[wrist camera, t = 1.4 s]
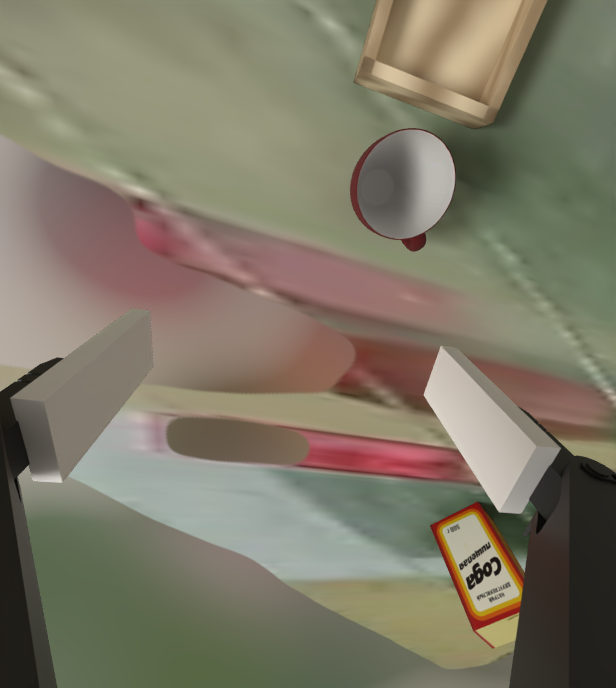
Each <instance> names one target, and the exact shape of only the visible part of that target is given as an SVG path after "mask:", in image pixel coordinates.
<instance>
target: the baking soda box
mask: <svg viewBox="0 0 616 688" xmlns="http://www.w3.org/2000/svg"><path fill="white" fill-rule="evenodd" d="M430 527H431V529H432V532H433V534H434V537H435V539H436V541H437V544H438V546H439V549H440V551H441V554H442V556H443V558H444V561H445V563H446V566H447V568H448V571H449V573H450V575H451V578H452V580H453V583H454V585H455V588H456V590H457V592H458V595H459V597H460V600H461V602H462V605H463V607H464V609H465V612H466V614H467V617H468V619H469V622H470V624H471V626H472V629H473V631H474V632H475V633H476V634H477V635H478V636H479V637H480V638H481V639H483V640H484V641H485V642H486V643H487V644H488V645H489V646H490V647H491V648H492V649H493V648H496V647H499V646H501V645H504V644H506V643H509V642H512V641H514V640H516V634H517V627H518V619H519V612H520V605H521V597H522V590H523V582H524V575H525V573H524V571H523V569H522V568H521V566H520V564H519V563H518V561H517V559H516V558H515V556H514V554H513V553H512V551H511V550H510V548H509V546H508V545H507V543H506V541H505V540H504V538H503V536H502V535H501V533H500V531H499V530H498V528H497V526H496V525H495V523H494V522H493V520H492V519H491V518H490V516H489V515H488V514H487V513H486V511H485V510H484V509H483V508H482V506H481V505H480V504H479V503H478V502H476V503H474V504H472V505H470V506H468V507H466V508H464V509H462V510H460V511H458V512H456V513H454V514H452V515H450V516H448V517H446V518H444V519H442V520H440V521H438V522H436V523H434V524H432V525H430Z"/></svg>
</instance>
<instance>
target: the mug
mask: <svg viewBox="0 0 616 688" xmlns="http://www.w3.org/2000/svg"><path fill="white" fill-rule="evenodd" d="M455 185H456V170H455V164H454V160H453V157H452V155H451V152H450V151H449V149H448V147H447V146H446V145H445V143H444V142H443V141H442V140H441V139H440V138H439V137H437V136H436V135H434V134H433V133H431V132H429V131H426V130H422V129H416V128H408V129H402V130H398V131H395V132H392V133H390V134H388V135H386V136H384V137H382V138H380V139H379V140H377V141H376V142H375V143H373V144H372V145H371V146H370V147H369V148H368V149H367V150H366V151H365V152H364V153H363V155H362V156H361V158H360V159H359V161H358V163H357V165H356V167H355V169H354V172H353V175H352V179H351V185H350V196H351V202H352V206H353V209H354V211H355V213H356V215H357V217H358V218H359V220H360V221H361V222H362V223H363V224H364V225H365V226H366V227H367V228H368V229H369V230H371V231H372V232H374V233H376V234H378V235H380V236H383V237H385V238H389V239H394V240H401V241H402V243H403V244H404V245H405V246H406V248H407V249H409V250H410V251H418V250H420V249H421V248H423V247H424V245H425V243H426V234H425V232H427V231H428V230H429V229H431V228H432V227H433V226H434V225H435V224H436V223H437V222H438V221H439V220H440V219H441V218H442V217H443V215H444V214H445V212H446V211H447V209H448V207H449V205H450V203H451V200H452V198H453V195H454V190H455Z"/></svg>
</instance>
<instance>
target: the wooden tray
mask: <svg viewBox="0 0 616 688" xmlns="http://www.w3.org/2000/svg"><path fill="white" fill-rule="evenodd" d="M546 2H547V0H377V1H376V4H375V8H374V11H373V15H372V18H371V22H370V26H369V29H368V33H367V36H366V40H365V43H364V47H363V50H362V54H361V57H360V61H359V64H358V68H357V71H356V75H355V78H354V83H356V84H359V85H361V86H364V87H366V88H369V89H372V90H374V91H377V92H379V93H382V94H385V95H387V96H390V97H392V98H395V99H397V100H400V101H403V102H405V103H408V104H410V105H413V106H415V107H418V108H421V109H423V110H426V111H428V112H431V113H433V114H436V115H439V116H441V117H444V118H446V119H449V120H451V121H454V122H457V123H459V124H462V125H464V126H467V127H469V128H472V129H476V128H479V127H482V126H485V125H488V124H491V123H493V122H494V120H495V117H496V115H497V113H498V111H499V108H500V106H501V104H502V102H503V99H504V97H505V95H506V93H507V90H508V88H509V86H510V84H511V81H512V79H513V77H514V75H515V72H516V70H517V68H518V66H519V63H520V61H521V59H522V57H523V54H524V52H525V50H526V48H527V45H528V43H529V41H530V38H531V36H532V34H533V32H534V29H535V27H536V25H537V23H538V20H539V18H540V16H541V14H542V11H543V9H544V7H545V5H546Z"/></svg>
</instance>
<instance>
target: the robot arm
mask: <svg viewBox="0 0 616 688" xmlns="http://www.w3.org/2000/svg"><path fill="white" fill-rule="evenodd" d="M152 368H153V351H152V333H151V314H150V311H148V310H139V309H130V310H129V311H128V312H126V313H125V314H124V315H122V316H121V317H119V318H118V319H117V320H115V321H114V322H113V323H111V324H110V325H109V326H107V327H106V328H105V329H103V330H102V331H100V332H99V333H98V334H96V335H95V336H94V337H92V338H91V339H90V340H88V341H87V342H86V343H84V344H83V345H81V346H80V347H79V348H77V349H76V350H75V351H73V352H72V353H71V354H69V355H68V356H67V357H65V358H55V359H52V360H50V361H47V362H45V363H42V364H40V365H38V366H37V367H35V368H34V369H33V370H31V371H30V372H28V374H27V375H26V374H25V375H24V376H22V377H21V378H20V379H18V381H17V382H14V383H12V384H11V385H9V386H8V387H7V388H5V389H4V390H2V391H1V392H0V688H57V684H56V678H55V673H54V667H53V662H52V657H51V652H50V646H49V640H48V635H47V630H46V624H45V619H44V613H43V608H42V603H41V597H40V592H39V586H38V581H37V576H36V570H35V564H34V559H33V554H32V548H31V543H30V537H29V532H28V527H27V521H26V517H25V511H24V505H23V500H22V495H21V489H20V484H19V481H18V477H17V476H18V475H19V474H20V473H21V472H22V471H23V470H24V469H25V468H26V467H27V466H28V465H29V468H30V472H31V476H32V479H33V481H44V482H59V483H62V482H63V481H64V480H65V479H66V477H67V476H68V475H69V474H70V472H71V471H72V470H73V469H74V467H75V466H76V465H77V463H78V462H79V461H80V460H81V458H82V457H83V456H84V455H85V453H86V452H87V451H88V449H89V448H90V447H91V446H92V444H93V443H94V442H95V441H96V439H97V438H98V437H99V435H100V434H101V433H102V432H103V430H104V429H105V428H106V427H107V425H108V424H109V423H110V421H111V420H112V419H113V418H114V416H115V415H116V414H117V413H118V411H119V410H120V409H121V407H122V406H123V405H124V404H125V402H126V401H127V400H128V399H129V397H130V396H131V395H132V393H133V392H134V391H135V390H136V388H137V387H138V386H139V385H140V383H141V382H142V381H143V379H144V378H145V377H146V376H147V374H148V373H149V372H150V370H151V369H152ZM424 396H425V398H426V399H427V401H428V402H429V404H430V406H431V407H432V409H433V410H434V412H435V413H436V415H437V416H438V418H439V420H440V421H441V423H442V424H443V426H444V427H445V429H446V430H447V432H448V434H449V435H450V437H451V438H452V440H453V441H454V443H455V445H456V446H457V448H458V449H459V451H460V452H461V454H462V455H463V457H464V459H465V460H466V462H467V463H468V465H469V466H470V468H471V469H472V471H473V473H474V474H475V476H476V477H477V479H478V480H479V482H480V483H481V485H482V487H483V488H484V490H485V491H486V493H487V494H488V496H489V497H490V499H491V501H492V502H493V504H494V505H495V507H496V508H497V510H498V511H499V512H502V513H516V514H521V513H522V512H523V510H524V508H525V507H526V505H527V503H528V502H529V500H530V501H531V502H532V504H533V505H534V506H535V507H536V509H537V512H536V513H535V515H534V516H533V518H532V520H531V521H530V523H529V524H528V526H527V527H526V529H525V531H524V532H523V534H522V535H523V536H524V537H526V536H527V535H528V534H529V533H530V538H529V546H528V553H527V560H526V568H525V575H524V582H523V590H522V597H521V605H520V612H519V619H518V627H517V634H516V641H515V649H514V656H513V664H512V671H511V678H510V686H509V688H616V473H615V472H613V471H612V470H611V469H609V468H608V467H606V466H605V465H603V464H601V463H599V462H597V461H595V460H592V459H589V458H587V457H582V456H574V455H573V454H572V453H570V452H569V451H568V450H567V449H566V448H565V447H564V446H563V445H562V444H561V443H560V442H559V441H558V440H557V439H556V438H555V437H554V436H552V435H551V434H550V433H549V432H547V431H546V429H545V428H544V427H543V426H542V425H541V424H538V421H537V420H535V419H534V418H533V417H532V416H531V415H530V414H529V413H528V412H526V411H525V410H523V409H522V408H520V407H518V406H517V405H515V404H514V403H513V402H512V401H511V400H510V399H509V398H508V397H507V396H506V395H505V394H504V393H503V392H502V391H501V390H500V389H499V388H498V387H497V386H496V385H495V384H494V383H493V382H492V381H490V380H489V379H488V378H487V377H486V376H485V375H484V374H483V373H482V372H481V371H480V370H479V369H478V368H477V367H476V366H475V365H474V364H473V363H472V362H471V361H470V360H469V359H468V358H467V357H465V356H464V355H463V354H462V353H461V352H460V351H459V350H458V349H457V348H454V347H446V346H441V347H440V350H439V353H438V356H437V359H436V362H435V364H434V367H433V370H432V373H431V376H430V379H429V381H428V384H427V387H426V390H425V393H424Z"/></svg>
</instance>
